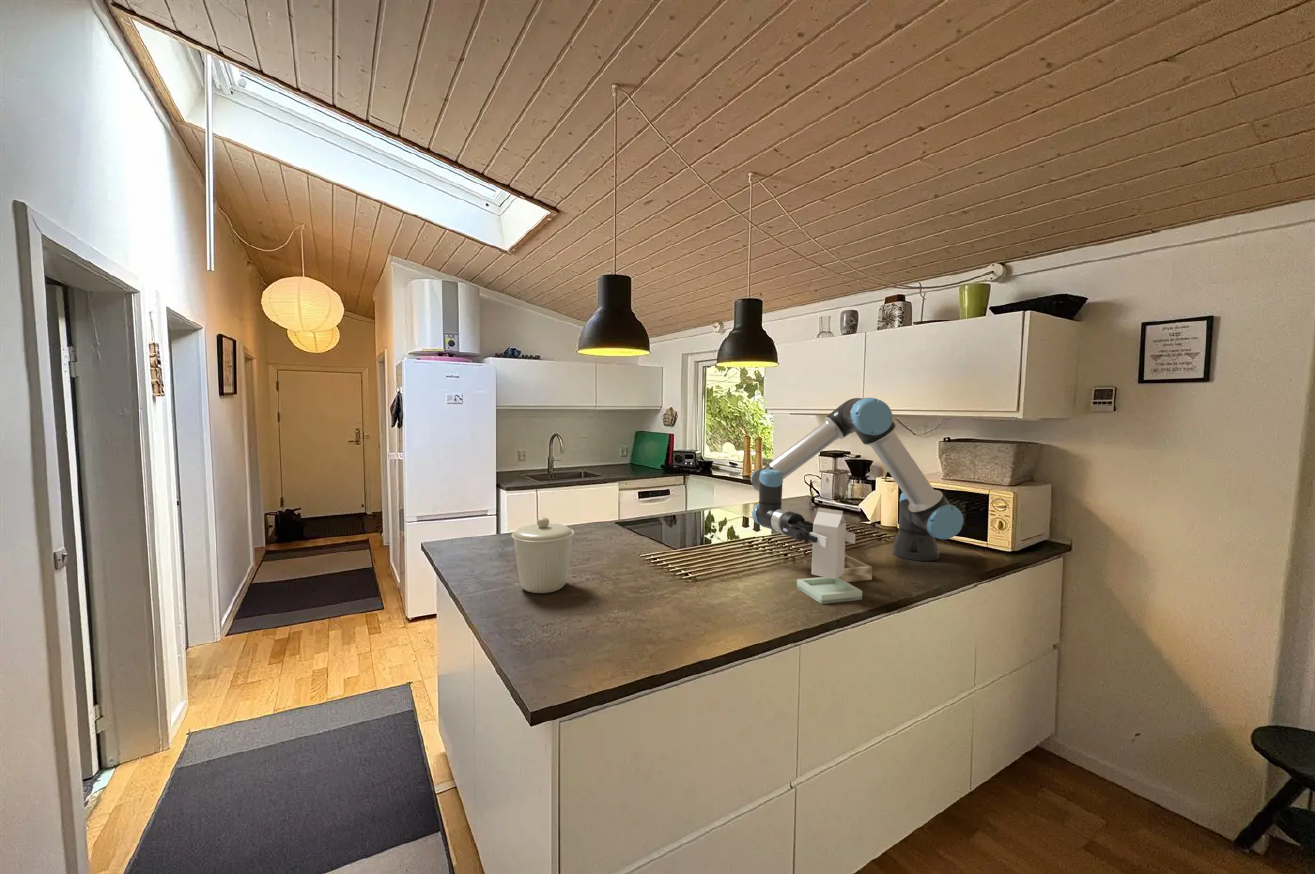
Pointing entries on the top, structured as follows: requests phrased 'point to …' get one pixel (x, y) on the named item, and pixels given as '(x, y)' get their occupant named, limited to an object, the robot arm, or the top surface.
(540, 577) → the canister
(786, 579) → the top surface
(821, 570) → the milk carton
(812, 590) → the tray
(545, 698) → the top surface
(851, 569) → the holder
